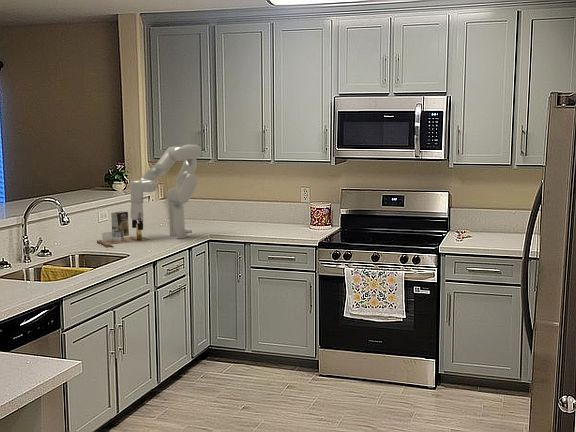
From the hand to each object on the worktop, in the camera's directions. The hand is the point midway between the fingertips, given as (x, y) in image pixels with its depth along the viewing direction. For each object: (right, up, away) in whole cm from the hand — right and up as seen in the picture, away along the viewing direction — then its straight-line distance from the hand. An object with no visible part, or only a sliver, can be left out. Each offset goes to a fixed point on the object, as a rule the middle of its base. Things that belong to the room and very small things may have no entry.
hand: (137, 228), depth 444 cm
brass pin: (+1, -7, +1) cm, 7 cm away
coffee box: (-15, -6, +21) cm, 27 cm away
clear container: (-16, -7, -1) cm, 17 cm away
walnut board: (-8, -9, +1) cm, 12 cm away
